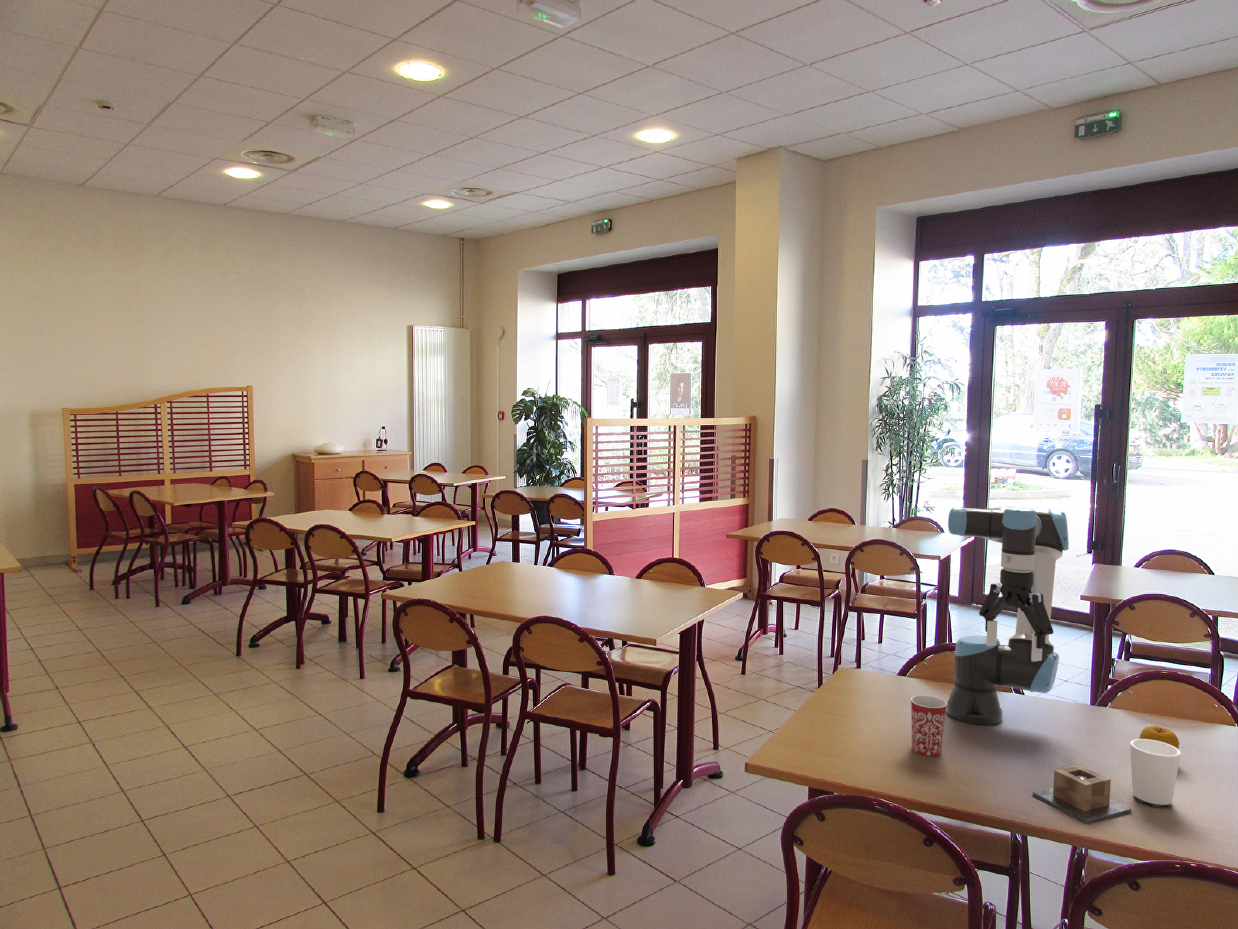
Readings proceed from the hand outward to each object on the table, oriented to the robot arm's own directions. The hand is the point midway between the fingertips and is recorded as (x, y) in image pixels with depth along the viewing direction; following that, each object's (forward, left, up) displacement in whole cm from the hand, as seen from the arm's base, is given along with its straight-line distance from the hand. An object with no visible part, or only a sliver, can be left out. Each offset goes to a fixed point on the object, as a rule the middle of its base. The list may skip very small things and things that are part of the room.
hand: (1013, 653), depth 205 cm
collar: (+2, +22, -28) cm, 35 cm away
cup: (-15, +27, -29) cm, 42 cm away
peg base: (+2, +22, -29) cm, 36 cm away
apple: (-38, +13, -29) cm, 49 cm away
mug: (+13, -15, -29) cm, 35 cm away
